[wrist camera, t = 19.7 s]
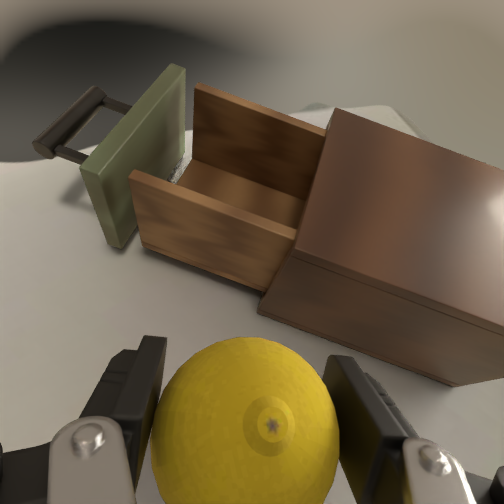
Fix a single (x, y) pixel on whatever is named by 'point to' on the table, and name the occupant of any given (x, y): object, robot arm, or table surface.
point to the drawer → (196, 176)
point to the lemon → (245, 428)
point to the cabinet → (399, 254)
